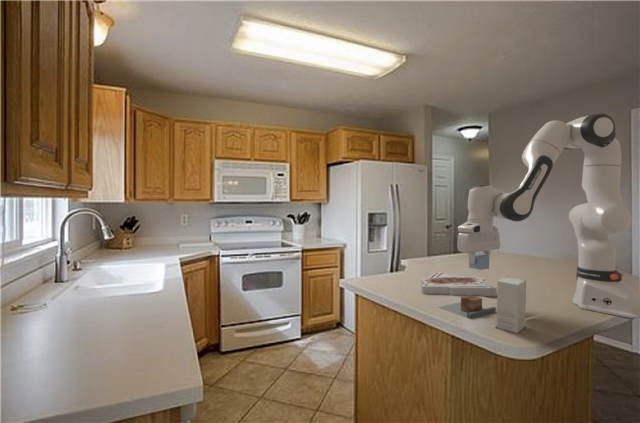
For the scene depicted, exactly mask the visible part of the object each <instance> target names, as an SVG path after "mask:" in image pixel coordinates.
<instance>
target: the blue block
mask: <svg viewBox="0 0 640 423" xmlns="http://www.w3.org/2000/svg"><path fill="white" fill-rule="evenodd" d="M474 256H475V259H477V263H475V264H472V263H470V257H469V256H468V268H469V269H475V270H480V271H482V270H490V255H489V256H488V255H484V254H481V253H475V255H474Z"/></svg>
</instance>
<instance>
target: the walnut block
mask: <svg viewBox="0 0 640 423" xmlns="http://www.w3.org/2000/svg"><path fill="white" fill-rule="evenodd" d="M460 302H461V311H464V312H467V313H470V312H474V311H478V310H482V308H483V297H478V296H476V295H462V296H461V297H460Z"/></svg>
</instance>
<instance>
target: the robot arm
mask: <svg viewBox="0 0 640 423" xmlns="http://www.w3.org/2000/svg"><path fill="white" fill-rule="evenodd" d="M615 137H616V123H615V122H614V119H613V118H612V117H611V116H610V115H608V114H606V113H593V114H590V115H585V116H581V117H578V118H576V119H574V120H570V121H568V122H564V121H562V120H549V121H548V122H546V123H545V124H544V125H543V126H542V127H541V128H540V129H539V130H537V132H536V133H535V134H534V136H532V138H531V139H530V141H529V142H528V143H527V145H526V146H525V148H524V150H523V151H522V155H521V159H522V162H523V164H524V166H526V167H527V168H528V170H527V173H526V174H525V176H524V178H523V180H522V181H521V182H520V185H519V186H518V188H517V189H516V190H513V191H511V192H504V191H502V190H500V189H497V188H495V187H494V186H493V185H492V184H488V183H485V184H484V183H483V184H479V185H474V186H472V187H471V188H469V192H468V198H467V210H468V216H467V221H465V222H463V223H462V224H459V225H458V227H457V231H458V232H459V233H458V234H457V241H456V242H457V244H456V245H457V246H456V247H457V250H458V252H460V253H464V254H465V253H466V254H468V258H469V257H470V263H472V264H475V263H477V259H475V256H474V255H475V254H476V253H477V252H478V253H479V252H483V255H488V256H489V257H490V255H491V251H495V250H499V249H500V247H501V239H500V237H501V236H500V232H499V230H498V228H497V226H496V225H494V217H496V218H499V219H504V220H509V221H513V222H522V221H524V220H526V219H528V218H529V217H530V215H532V212H533V209H534V208H535V207H534V206H535V203H536V200H537V197H538V195H539V193H540V191H541V190H542V188H543V186H544V184H545V183H546V182H547V180H548V177H549V176H550V174H551V172H552V171H553V170H552V169H553V165H554V164H555V162H556V161H557V159H558V158H559V156H560V155H561V153H562V152H563V151H564V150H575V149H582V152H583V155H584V158H583V166H582V179H581V188H582V190H583V191H584V193H585V195H586V200H587V202H586V203H585V202H583V203H581V204H578V205H575V206H574V207H573V208H571V209H570V210H569V213H568V219H569V222H570V224H572V227H573V230H574V233H575V237H576V241H577V247H578V250H577V251H578V253H577V254H578V255H577V257H578V262H577V263H578V264H577V265H578V266H576V272H575V273H576V274H575V275H576V281H577V282H576V288H575V292H574V296H573V298H572V301H571V302H572V303H573V304H575V305H577V306H578V307H579V308H580V309H584V310H588V311H593V312H597V313H602V314H603V313H604V314H608V315H613V316H617V317H622V318H623V317H624V318H628V319H636V320H637V319H640V294H639V293H638V292H637V291H635V290H634V289H633V288H632V287H630V286H628V285H627V284H626V283H625V282H624V281H622V279H623V278H622V277H623V276H624V272H619V270H617V269H616V257H617V255H616V254H617V249H616V248H615V246H614V244H613V243H612V241H611V238H610V234H616V233H617V234H618V233H622V232H624V231H626V230H627V229H628V228H629V227H630V225H631V223H632V215H631V213H630V211H629V210H628V209H627V208H626V207H625V206H626V205H625V204H624V202H623V201H624V200H623V197H622V194H621V175H622V174H621V171H622V148H621V144H620V140H619V139H617V138H615Z"/></svg>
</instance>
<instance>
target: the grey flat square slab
mask: <svg viewBox="0 0 640 423" xmlns="http://www.w3.org/2000/svg"><path fill="white" fill-rule="evenodd" d="M437 308H439V309H441V310H444V311H448V312H450V313H452V314H455V315H458V316H461V317H464V318H467V319H473V318H478V317H481V316H485V315H488V314H493V313H495V312H496V313H497V306H491V307H487V308H486V307H482V310H478V311H474V312H470V313H467V312H464V311H461V301H459V302H454V303H450V304H445V305H441V306H437Z"/></svg>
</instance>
